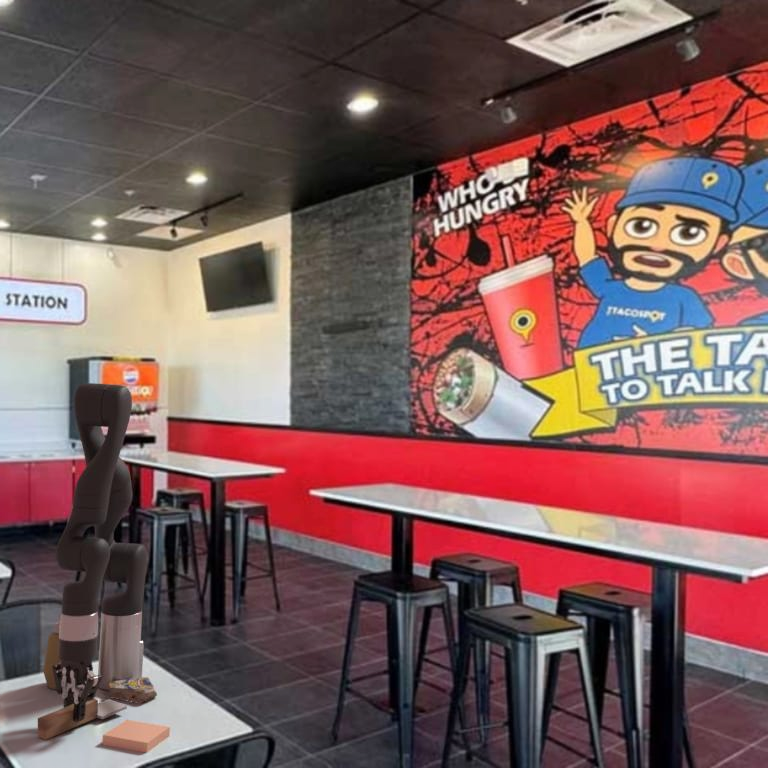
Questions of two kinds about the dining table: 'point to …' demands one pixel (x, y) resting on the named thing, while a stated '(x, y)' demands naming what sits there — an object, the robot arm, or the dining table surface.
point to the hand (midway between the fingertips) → (73, 718)
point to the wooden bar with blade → (64, 717)
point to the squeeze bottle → (52, 656)
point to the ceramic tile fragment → (132, 689)
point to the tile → (136, 735)
